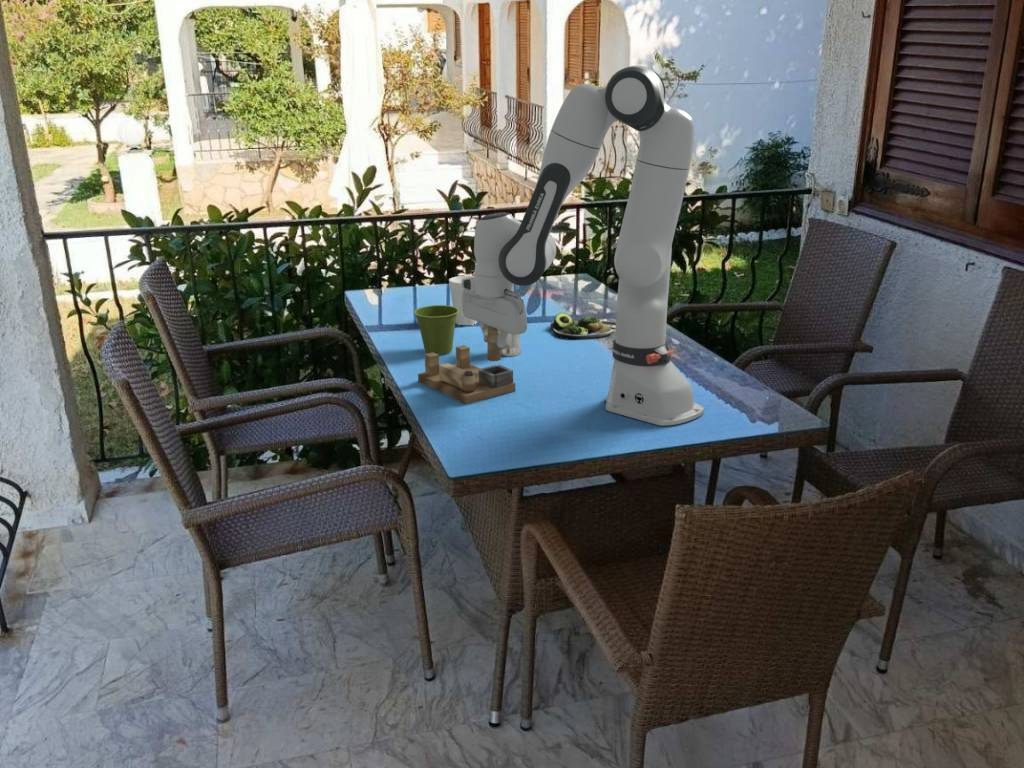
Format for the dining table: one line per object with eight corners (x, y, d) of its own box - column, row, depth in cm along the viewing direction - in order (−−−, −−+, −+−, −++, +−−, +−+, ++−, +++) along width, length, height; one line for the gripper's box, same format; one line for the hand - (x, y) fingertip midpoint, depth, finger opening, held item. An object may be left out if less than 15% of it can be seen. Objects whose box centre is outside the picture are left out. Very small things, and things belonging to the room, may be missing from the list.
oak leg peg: (503, 359, 214) (503, 322, 211) (492, 362, 212) (492, 324, 209) (495, 356, 216) (495, 319, 213) (484, 358, 214) (484, 321, 211)
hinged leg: (478, 389, 210) (477, 372, 209) (467, 392, 208) (466, 375, 207) (449, 376, 219) (448, 360, 217) (438, 379, 217) (437, 362, 216)
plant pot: (425, 343, 252) (423, 303, 249) (466, 347, 249) (465, 306, 245) (408, 356, 242) (406, 314, 238) (451, 360, 238) (449, 318, 235)
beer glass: (520, 357, 240) (519, 301, 235) (493, 356, 241) (493, 300, 236) (525, 349, 246) (525, 294, 241) (499, 348, 248) (498, 293, 243)
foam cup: (475, 328, 266) (474, 284, 261) (445, 326, 269) (444, 282, 264) (486, 320, 274) (486, 276, 270) (457, 317, 277) (456, 274, 273)
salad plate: (611, 321, 273) (611, 306, 272) (626, 338, 256) (626, 322, 255) (546, 324, 271) (546, 309, 269) (557, 342, 254) (557, 325, 252)
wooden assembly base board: (515, 391, 216) (515, 362, 214) (466, 404, 208) (465, 375, 206) (465, 369, 231) (465, 343, 229) (418, 381, 223) (417, 354, 221)
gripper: (534, 292, 202) (533, 352, 207) (479, 275, 217) (479, 331, 222) (511, 296, 199) (511, 358, 203) (457, 279, 214) (457, 336, 219)
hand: (494, 344), depth 213 cm, fingers closed on oak leg peg, 3 cm apart
